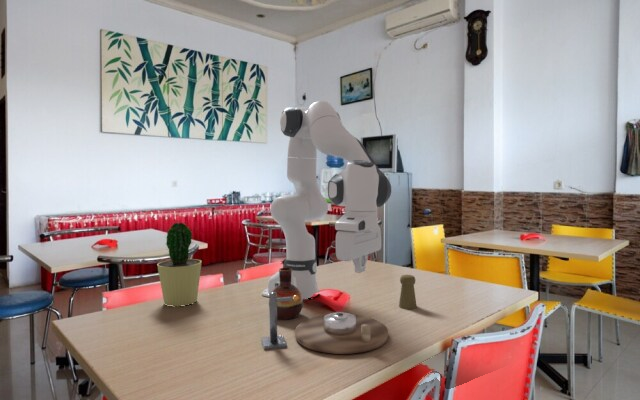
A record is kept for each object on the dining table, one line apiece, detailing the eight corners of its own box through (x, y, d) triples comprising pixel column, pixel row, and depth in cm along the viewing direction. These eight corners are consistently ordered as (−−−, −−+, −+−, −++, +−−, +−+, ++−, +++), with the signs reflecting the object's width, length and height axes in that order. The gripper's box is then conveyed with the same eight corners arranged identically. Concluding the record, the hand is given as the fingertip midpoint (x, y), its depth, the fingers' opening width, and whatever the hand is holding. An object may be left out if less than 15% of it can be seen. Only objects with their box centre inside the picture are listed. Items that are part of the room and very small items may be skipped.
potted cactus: (166, 312, 138) (164, 224, 137) (152, 302, 150) (150, 221, 149) (209, 303, 148) (207, 221, 147) (192, 294, 160) (190, 218, 159)
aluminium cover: (317, 328, 115) (317, 313, 115) (342, 322, 121) (342, 307, 120) (337, 338, 108) (337, 321, 108) (362, 330, 113) (362, 314, 113)
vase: (309, 313, 135) (308, 267, 134) (290, 323, 125) (289, 274, 125) (282, 308, 141) (281, 264, 140) (261, 318, 131) (261, 270, 130)
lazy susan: (278, 330, 118) (278, 312, 118) (348, 313, 133) (348, 296, 133) (331, 363, 97) (331, 340, 96) (408, 338, 111) (407, 318, 111)
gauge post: (264, 349, 106) (263, 296, 105) (261, 341, 112) (260, 290, 111) (301, 345, 109) (300, 293, 108) (296, 337, 114) (296, 287, 114)
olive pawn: (417, 309, 138) (416, 277, 137) (398, 308, 139) (398, 276, 138) (416, 304, 144) (416, 273, 143) (399, 303, 145) (398, 273, 144)
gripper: (367, 217, 119) (366, 263, 120) (331, 223, 102) (330, 278, 103) (387, 218, 116) (386, 266, 117) (353, 225, 99) (352, 281, 100)
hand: (360, 271), depth 110 cm, fingers closed
